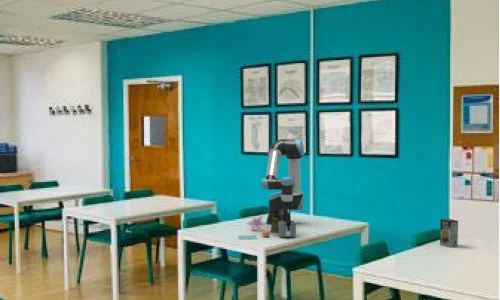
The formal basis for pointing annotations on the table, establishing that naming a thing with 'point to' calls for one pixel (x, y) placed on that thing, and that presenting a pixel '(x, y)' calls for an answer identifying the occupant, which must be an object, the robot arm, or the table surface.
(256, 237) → the tape square
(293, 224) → the matte grey cube
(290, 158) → the robot arm
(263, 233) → the ball
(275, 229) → the wooden mug
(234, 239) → the table surface
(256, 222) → the lily
